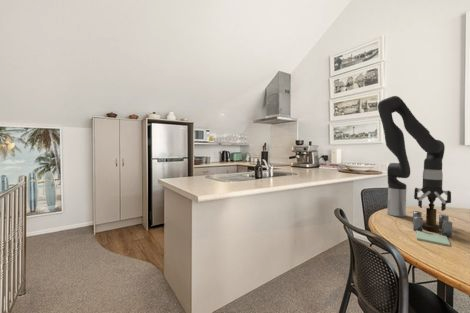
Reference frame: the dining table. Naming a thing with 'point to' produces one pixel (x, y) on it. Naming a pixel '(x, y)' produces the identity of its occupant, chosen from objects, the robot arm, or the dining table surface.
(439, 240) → the green mat
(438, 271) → the dining table surface
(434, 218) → the wooden pepper mill
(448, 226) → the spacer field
